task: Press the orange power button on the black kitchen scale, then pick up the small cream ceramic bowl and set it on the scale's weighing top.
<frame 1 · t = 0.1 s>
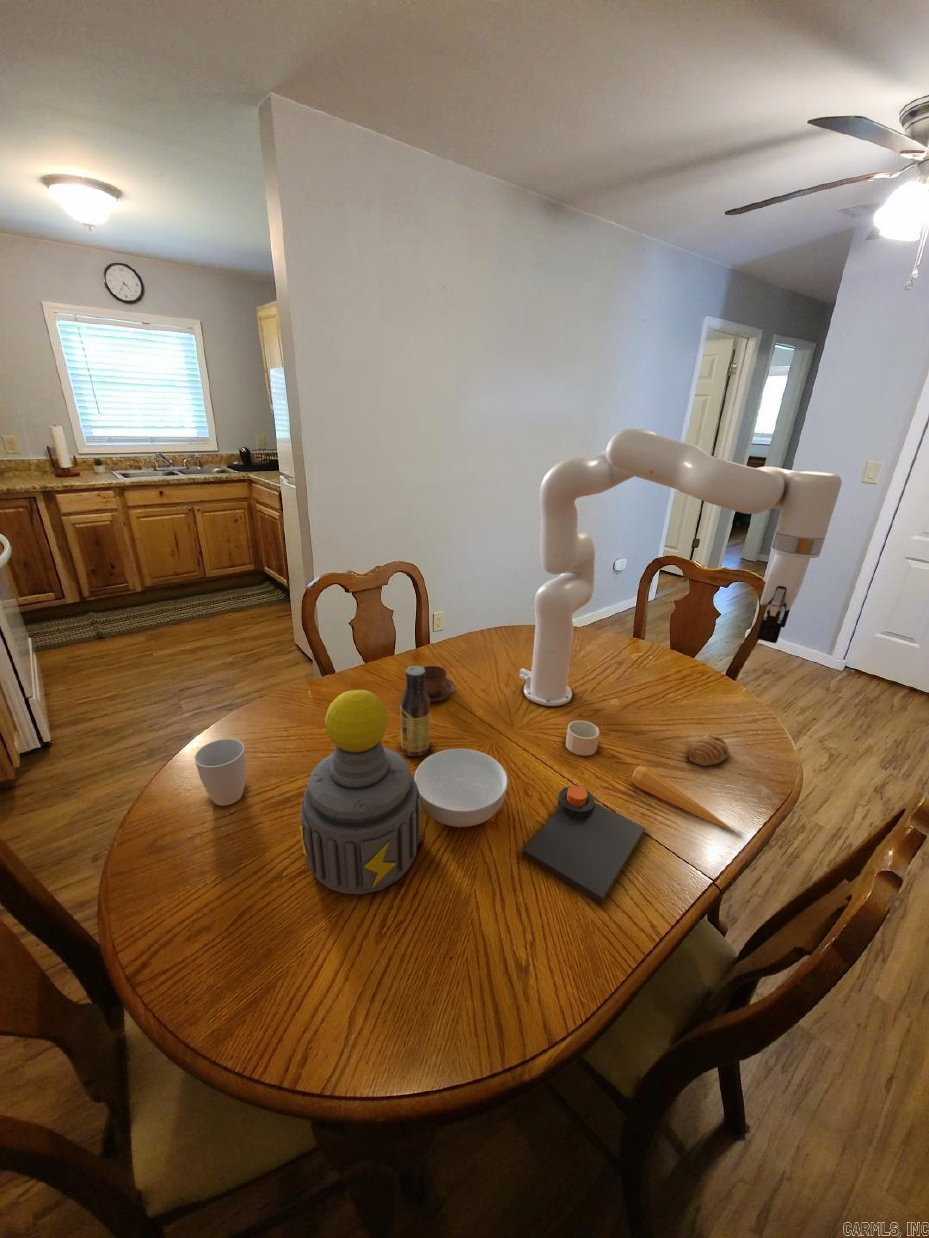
hand: (771, 632, 95), 31 cm above the table, tool pointing down, fingers open, 9 cm apart
cup and saucer: (432, 694, 130), on the table
carrot: (679, 807, 95), on the table
scale: (585, 844, 86), on the table
decorative lamp: (364, 850, 83), on the table
cereal bowl: (459, 807, 93), on the table
pastry: (707, 757, 110), on the table
sauce bottle: (415, 750, 108), on the table
small bowl: (581, 746, 111), on the table
cup: (228, 796, 94), on the table
power button: (576, 796, 92), point 4 cm above the table, slide at 0.1 cm
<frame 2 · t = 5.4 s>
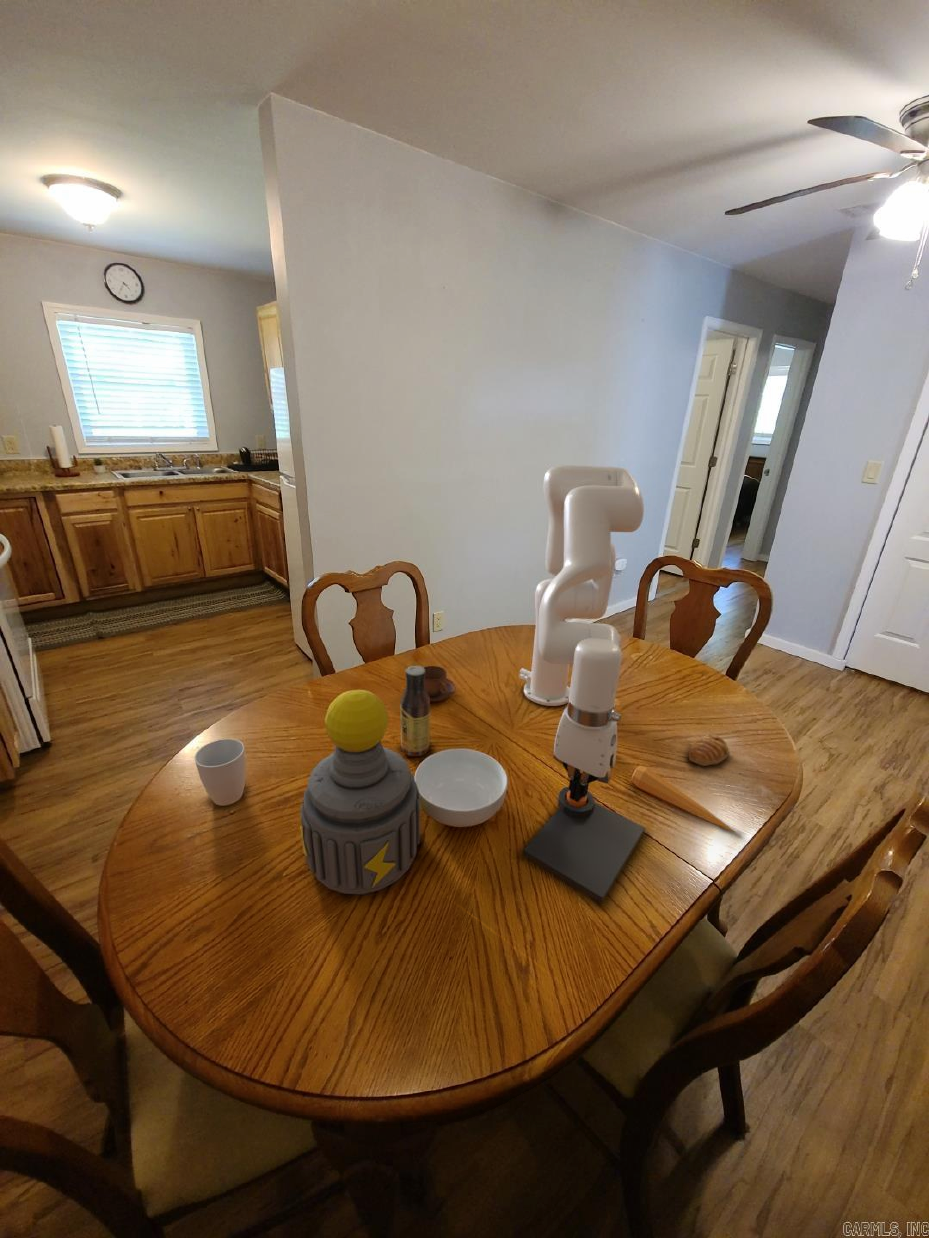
hand: (577, 795, 91), 4 cm above the table, tool pointing down, fingers closed
power button: (576, 799, 92), point 3 cm above the table, slide at -0.6 cm, touching gripper
everything else where it was.
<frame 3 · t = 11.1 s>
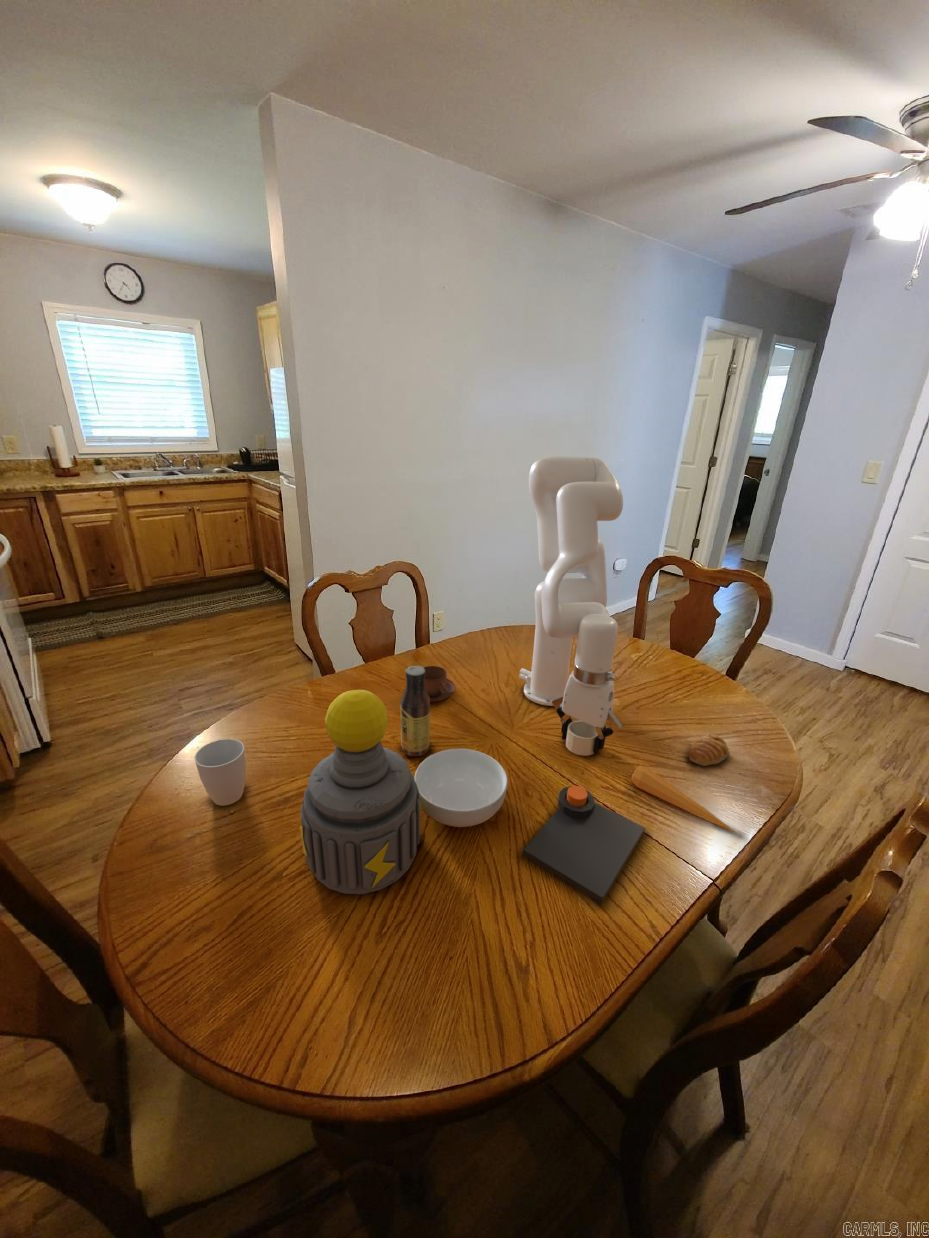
hand: (581, 742, 111), 1 cm above the table, tool pointing down, fingers closed on small bowl, 6 cm apart
small bowl: (581, 746, 111), on the table, touching gripper
power button: (576, 796, 92), point 4 cm above the table, slide at 0.1 cm
everything else where it was.
when the fingers open (2 cm above the table, at t = 19.9 s): small bowl stays where it is, resting on scale.
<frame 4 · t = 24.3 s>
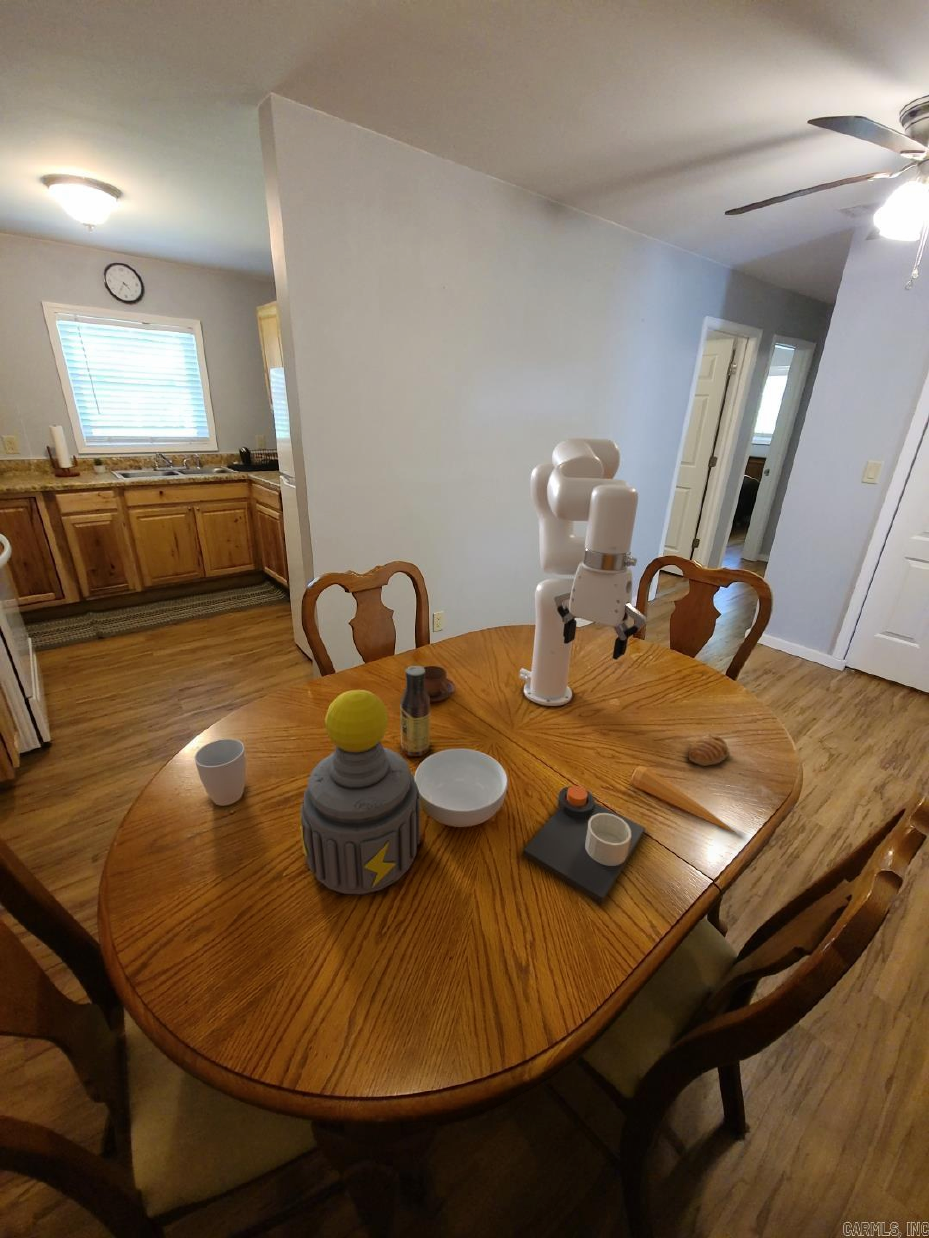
hand: (592, 648, 92), 28 cm above the table, tool pointing down, fingers open, 9 cm apart
small bowl: (605, 848, 83), point 1 cm above the table, touching scale
everything else where it was.
at the end: power button pushed in 0.7 cm at the most during the clip, back to where it started at the end; small bowl inside the target area on the scale (0.8 cm from its centre), point 1.4 cm above the scale's base; small bowl touching scale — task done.
